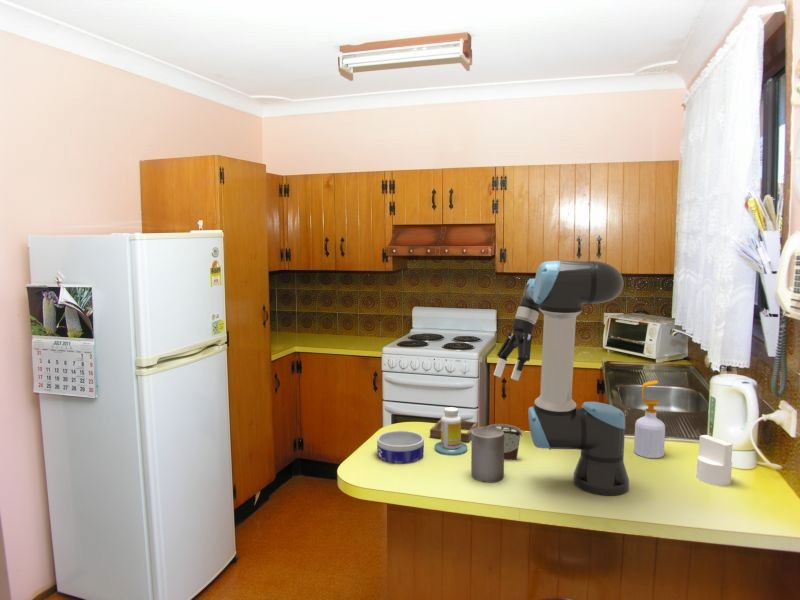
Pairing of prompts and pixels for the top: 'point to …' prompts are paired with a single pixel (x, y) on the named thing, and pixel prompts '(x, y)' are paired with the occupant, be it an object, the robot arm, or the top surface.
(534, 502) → the top surface
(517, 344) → the robot arm
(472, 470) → the pillar candle
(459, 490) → the top surface
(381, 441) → the dog bowl
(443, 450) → the coaster
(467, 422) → the square frame
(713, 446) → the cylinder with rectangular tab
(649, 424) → the soap bottle
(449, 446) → the supplement bottle
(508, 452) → the food container
